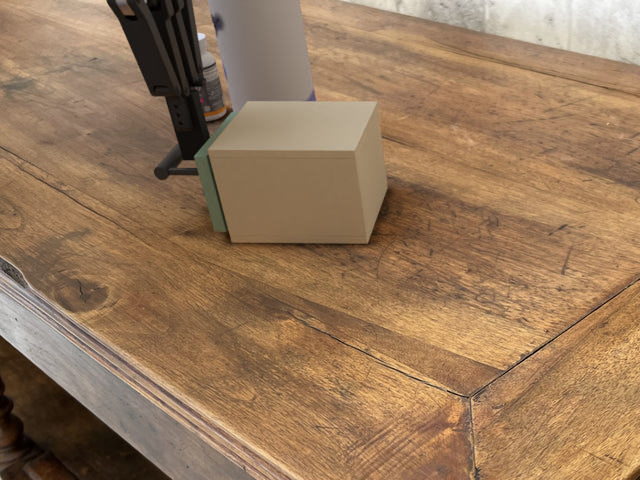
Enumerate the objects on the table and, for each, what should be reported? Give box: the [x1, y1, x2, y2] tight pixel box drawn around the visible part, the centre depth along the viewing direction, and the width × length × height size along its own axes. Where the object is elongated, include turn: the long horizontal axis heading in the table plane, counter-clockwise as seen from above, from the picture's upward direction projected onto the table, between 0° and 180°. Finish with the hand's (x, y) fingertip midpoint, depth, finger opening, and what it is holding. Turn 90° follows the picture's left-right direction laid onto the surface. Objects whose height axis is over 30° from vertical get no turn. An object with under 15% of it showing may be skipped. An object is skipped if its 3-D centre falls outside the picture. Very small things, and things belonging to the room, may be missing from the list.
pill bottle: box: [195, 31, 227, 122], centre depth 103 cm, size 6×6×10 cm
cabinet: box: [208, 100, 388, 245], centre depth 80 cm, size 14×13×10 cm
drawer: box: [153, 111, 238, 233], centre depth 81 cm, size 18×11×8 cm, turn 88°
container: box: [207, 0, 317, 112], centre depth 94 cm, size 10×10×20 cm
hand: (199, 157), depth 80 cm, fingers closed
